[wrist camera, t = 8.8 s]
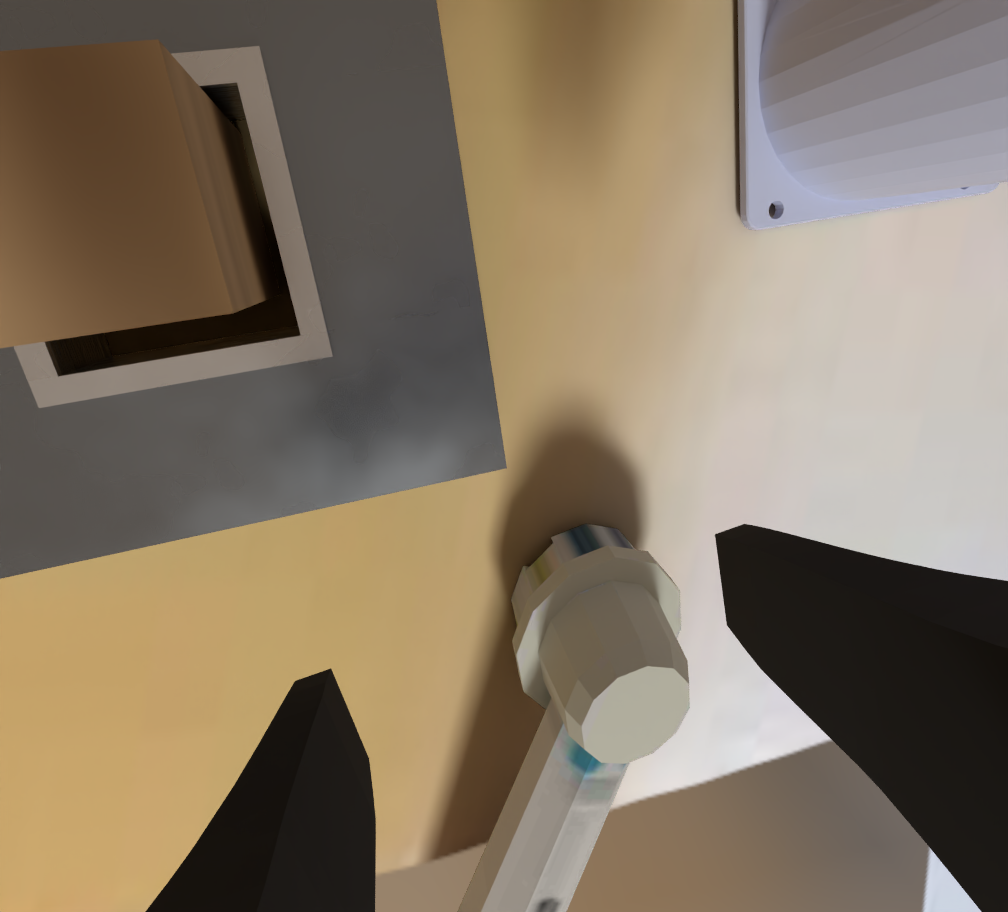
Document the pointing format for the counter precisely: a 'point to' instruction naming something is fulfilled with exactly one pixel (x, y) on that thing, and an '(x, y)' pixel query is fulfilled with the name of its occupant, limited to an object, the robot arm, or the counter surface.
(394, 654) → the counter surface
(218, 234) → the oak peg
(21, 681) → the counter surface
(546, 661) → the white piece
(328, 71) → the grey socket base
